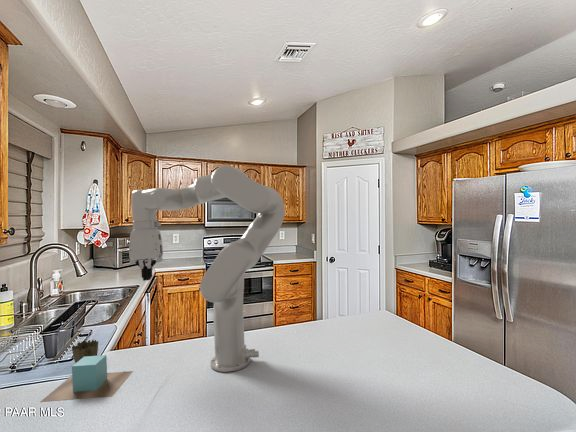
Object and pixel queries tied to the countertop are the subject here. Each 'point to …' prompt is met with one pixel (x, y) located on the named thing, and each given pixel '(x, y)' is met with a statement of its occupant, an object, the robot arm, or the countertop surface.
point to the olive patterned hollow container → (85, 349)
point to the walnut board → (104, 390)
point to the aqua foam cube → (89, 373)
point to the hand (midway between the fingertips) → (147, 279)
